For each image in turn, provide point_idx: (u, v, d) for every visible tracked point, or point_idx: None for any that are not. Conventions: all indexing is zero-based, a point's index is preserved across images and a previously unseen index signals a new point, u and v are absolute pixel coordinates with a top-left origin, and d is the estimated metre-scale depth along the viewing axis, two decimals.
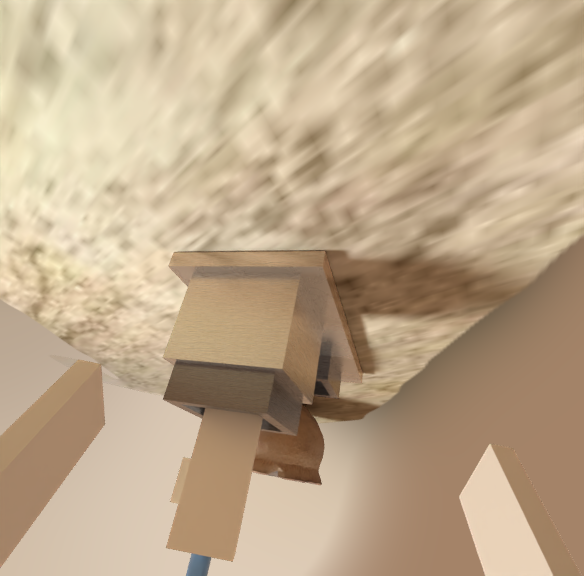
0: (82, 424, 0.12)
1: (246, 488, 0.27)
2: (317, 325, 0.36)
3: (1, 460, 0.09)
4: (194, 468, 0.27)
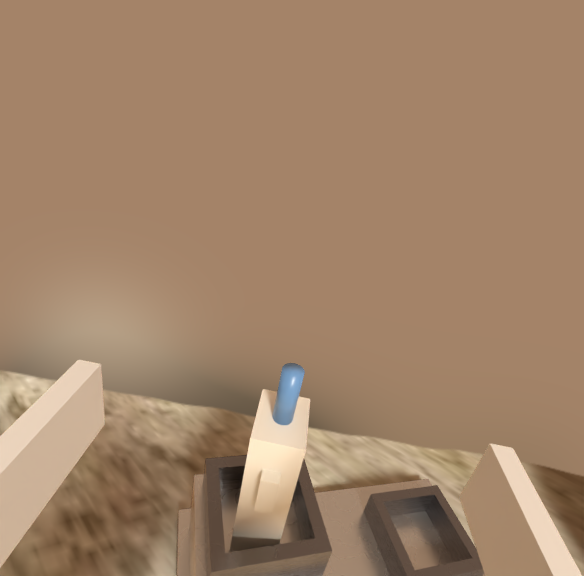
0: (82, 424, 0.12)
1: None
2: None
3: (1, 460, 0.09)
4: None
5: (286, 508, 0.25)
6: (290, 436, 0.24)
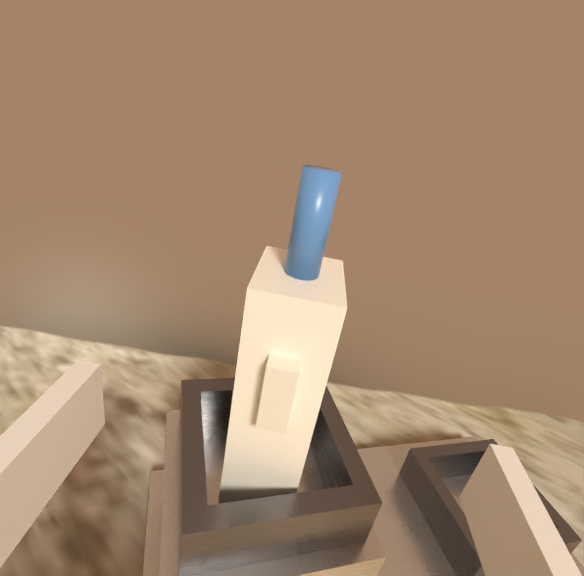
0: (82, 424, 0.12)
1: None
2: None
3: (1, 460, 0.09)
4: None
5: (309, 429, 0.15)
6: (317, 292, 0.13)
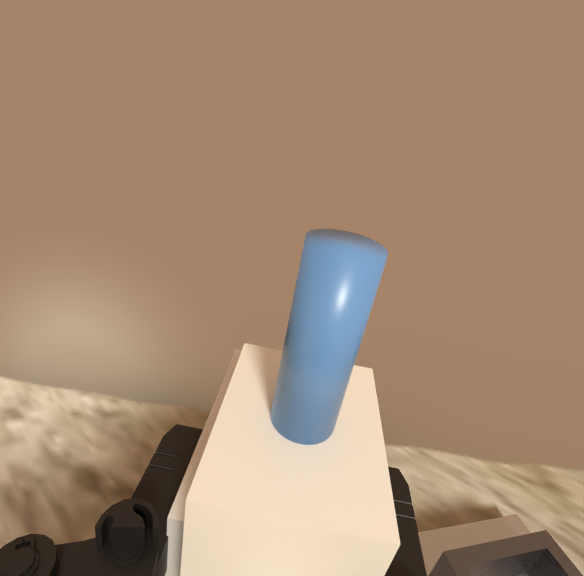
0: None
1: None
2: None
3: None
4: None
5: None
6: (334, 488, 0.07)
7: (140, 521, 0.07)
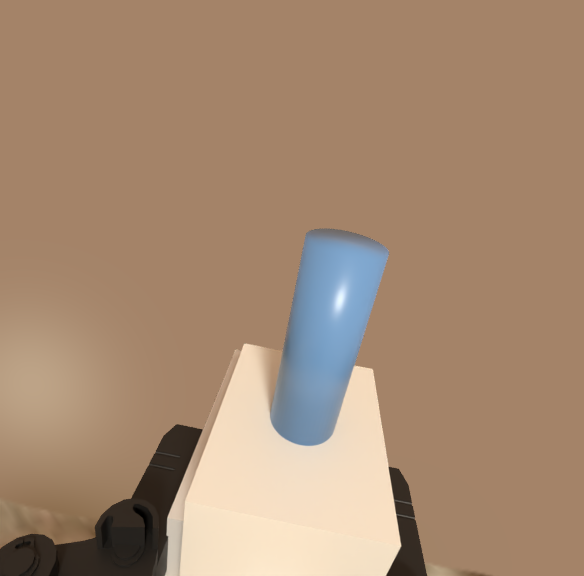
0: None
1: None
2: None
3: None
4: None
5: None
6: (334, 489, 0.07)
7: (140, 521, 0.07)
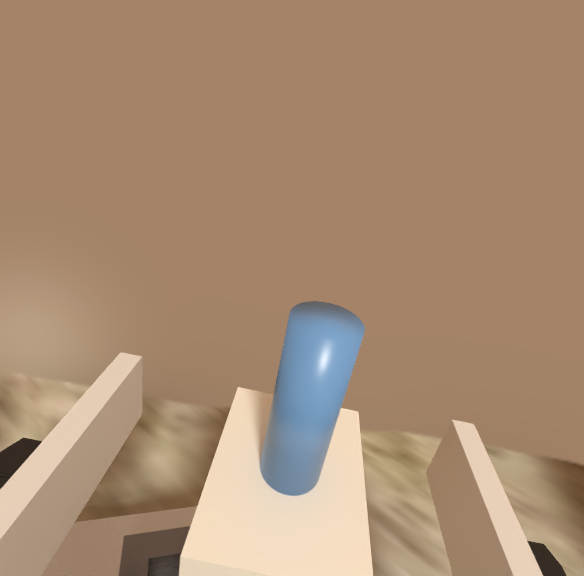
0: (125, 413, 0.12)
1: None
2: None
3: (64, 443, 0.09)
4: None
5: None
6: (317, 540, 0.07)
7: None
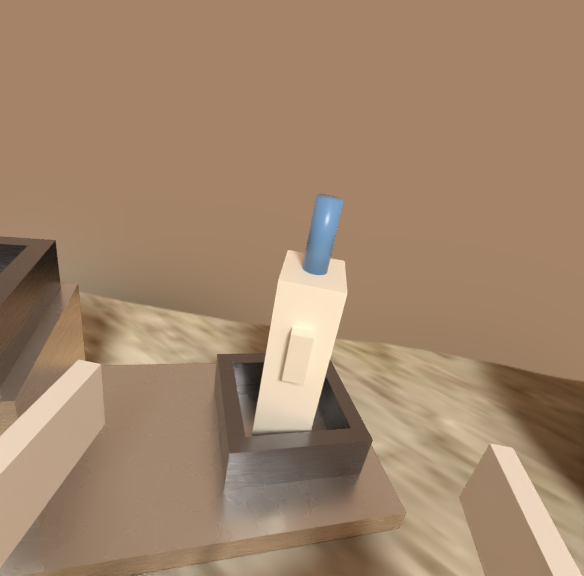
0: (82, 424, 0.12)
1: None
2: None
3: (1, 460, 0.09)
4: None
5: (319, 383, 0.21)
6: (326, 283, 0.19)
7: None
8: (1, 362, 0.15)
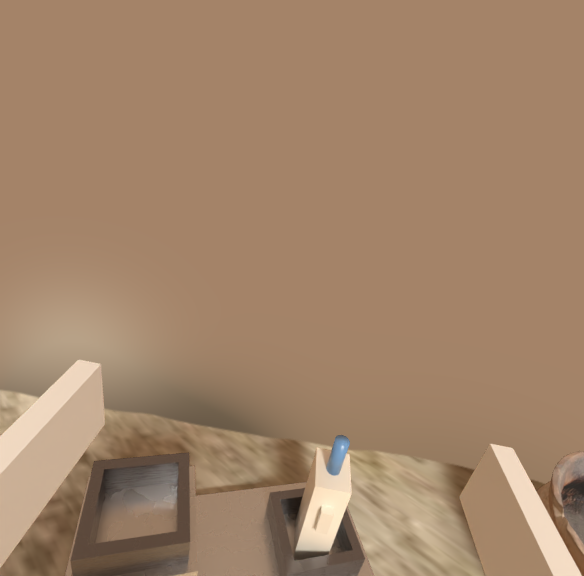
0: (82, 424, 0.12)
1: (309, 475, 0.41)
2: None
3: (1, 460, 0.09)
4: (305, 513, 0.38)
5: (335, 530, 0.38)
6: (340, 484, 0.36)
7: None
8: None
